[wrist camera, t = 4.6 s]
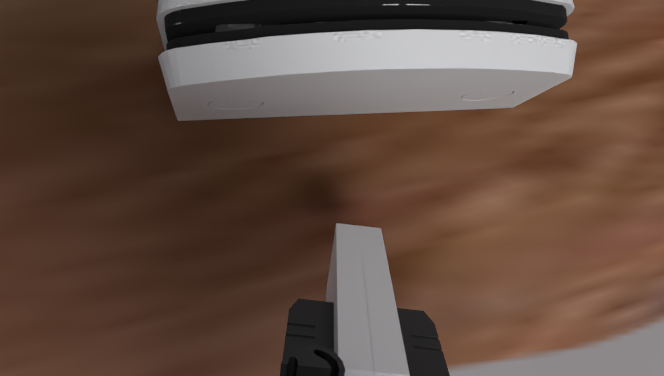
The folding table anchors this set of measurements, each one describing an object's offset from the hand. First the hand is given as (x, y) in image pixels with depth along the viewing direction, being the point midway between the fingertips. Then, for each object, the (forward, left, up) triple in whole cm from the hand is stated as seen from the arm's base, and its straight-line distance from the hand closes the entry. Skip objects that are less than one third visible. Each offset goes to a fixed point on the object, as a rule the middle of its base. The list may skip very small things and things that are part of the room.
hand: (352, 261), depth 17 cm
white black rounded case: (0, +9, -5) cm, 10 cm away
